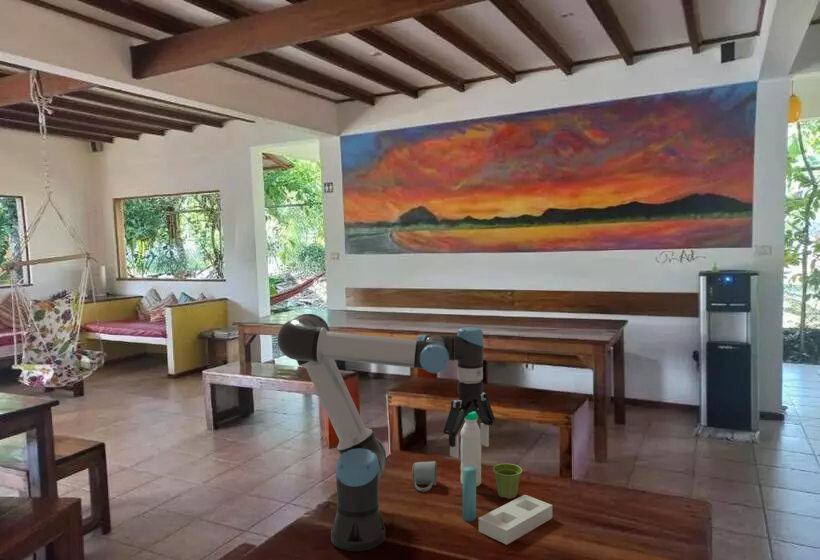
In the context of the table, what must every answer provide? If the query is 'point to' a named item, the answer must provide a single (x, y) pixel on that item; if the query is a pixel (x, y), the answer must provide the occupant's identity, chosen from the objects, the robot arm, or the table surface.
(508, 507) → the hole block
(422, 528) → the table surface
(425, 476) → the ceramic mug
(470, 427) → the water bottle
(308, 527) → the table surface
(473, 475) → the teal pin
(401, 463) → the table surface
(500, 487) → the plant pot
